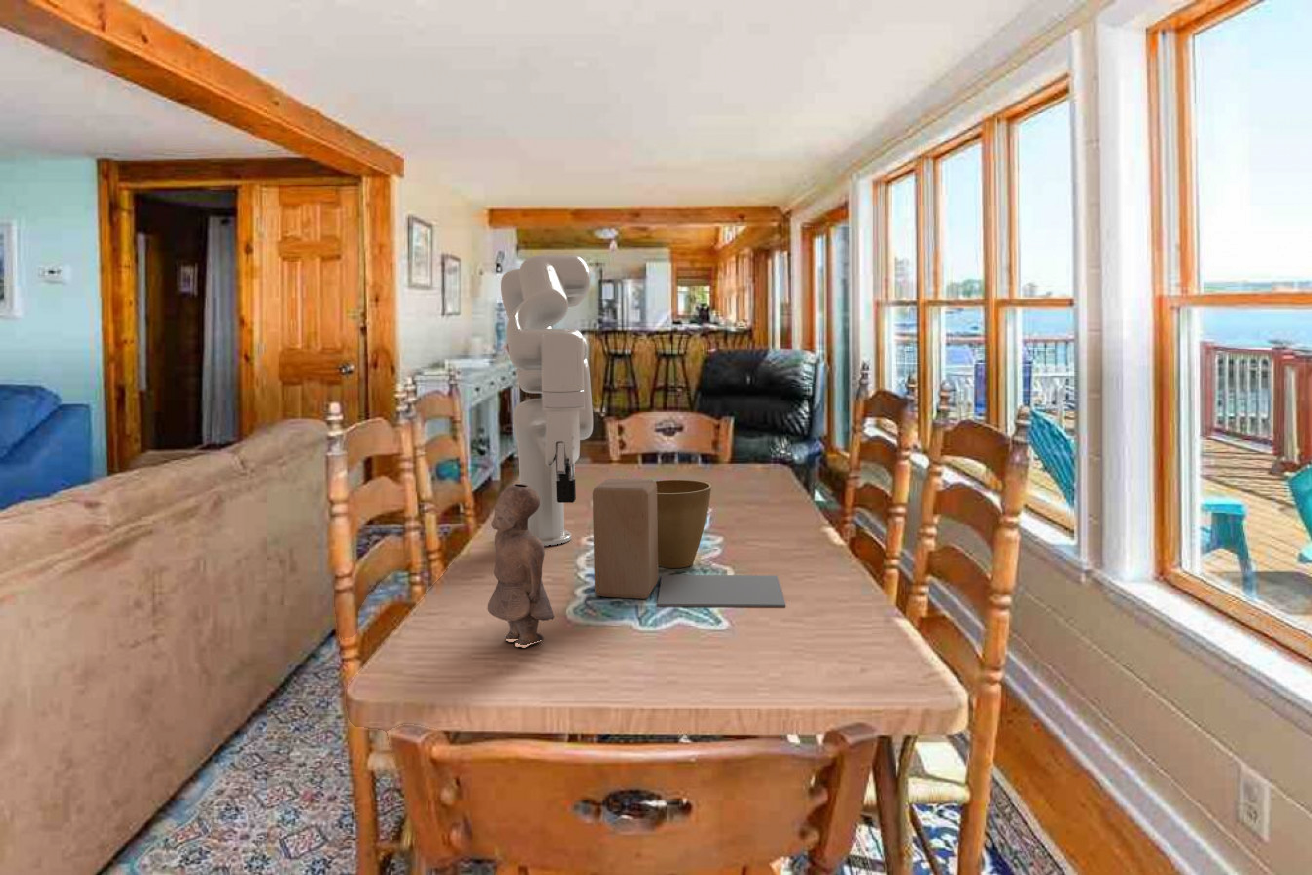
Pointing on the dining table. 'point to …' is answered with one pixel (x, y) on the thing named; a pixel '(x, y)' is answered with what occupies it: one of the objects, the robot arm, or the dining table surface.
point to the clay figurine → (519, 566)
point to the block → (625, 538)
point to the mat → (721, 591)
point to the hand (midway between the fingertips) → (566, 501)
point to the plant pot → (680, 520)
